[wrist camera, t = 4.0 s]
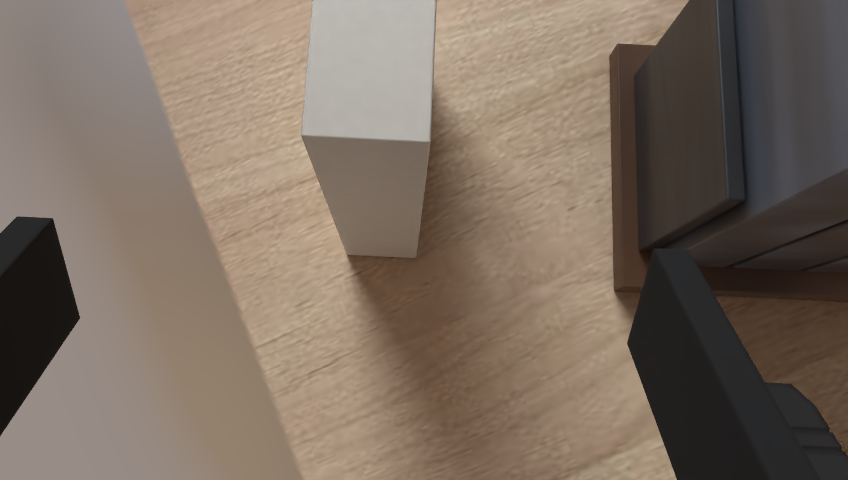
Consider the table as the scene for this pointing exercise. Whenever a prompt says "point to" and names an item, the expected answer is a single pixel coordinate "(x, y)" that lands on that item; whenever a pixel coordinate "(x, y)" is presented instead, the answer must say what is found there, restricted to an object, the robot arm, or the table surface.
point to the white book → (371, 118)
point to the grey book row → (736, 148)
